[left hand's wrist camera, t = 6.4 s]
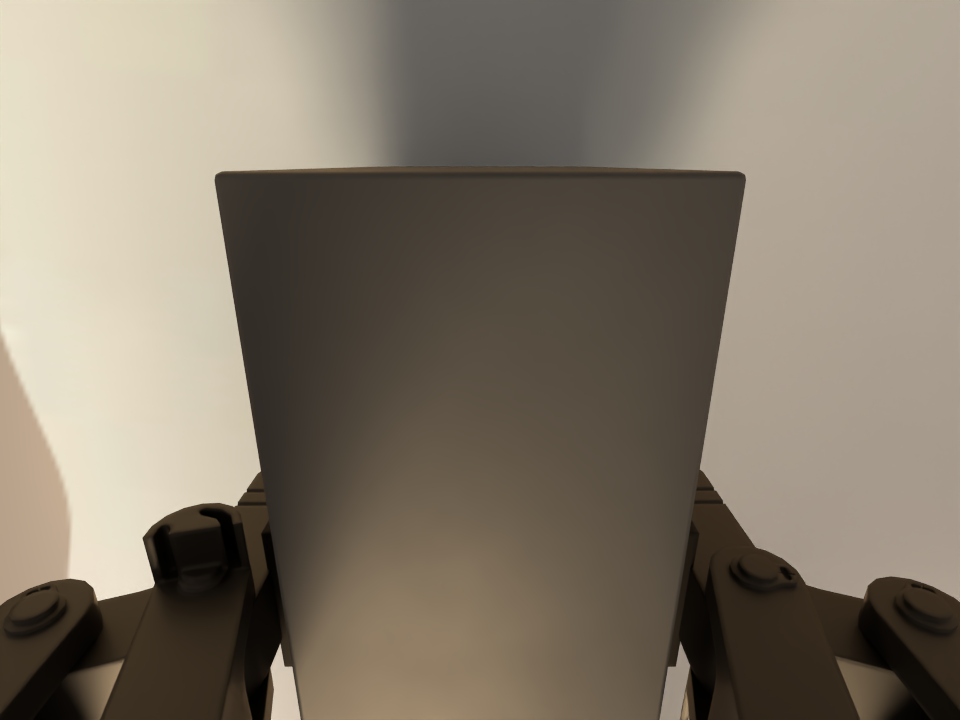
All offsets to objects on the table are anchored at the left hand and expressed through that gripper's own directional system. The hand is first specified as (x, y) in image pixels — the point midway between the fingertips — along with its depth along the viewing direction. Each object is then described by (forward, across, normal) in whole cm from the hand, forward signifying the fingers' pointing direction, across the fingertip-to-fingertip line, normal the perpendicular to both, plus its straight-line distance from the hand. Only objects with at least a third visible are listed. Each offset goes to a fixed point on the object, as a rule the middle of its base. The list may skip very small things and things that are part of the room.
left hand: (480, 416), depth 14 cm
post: (0, 0, -27) cm, 27 cm away
